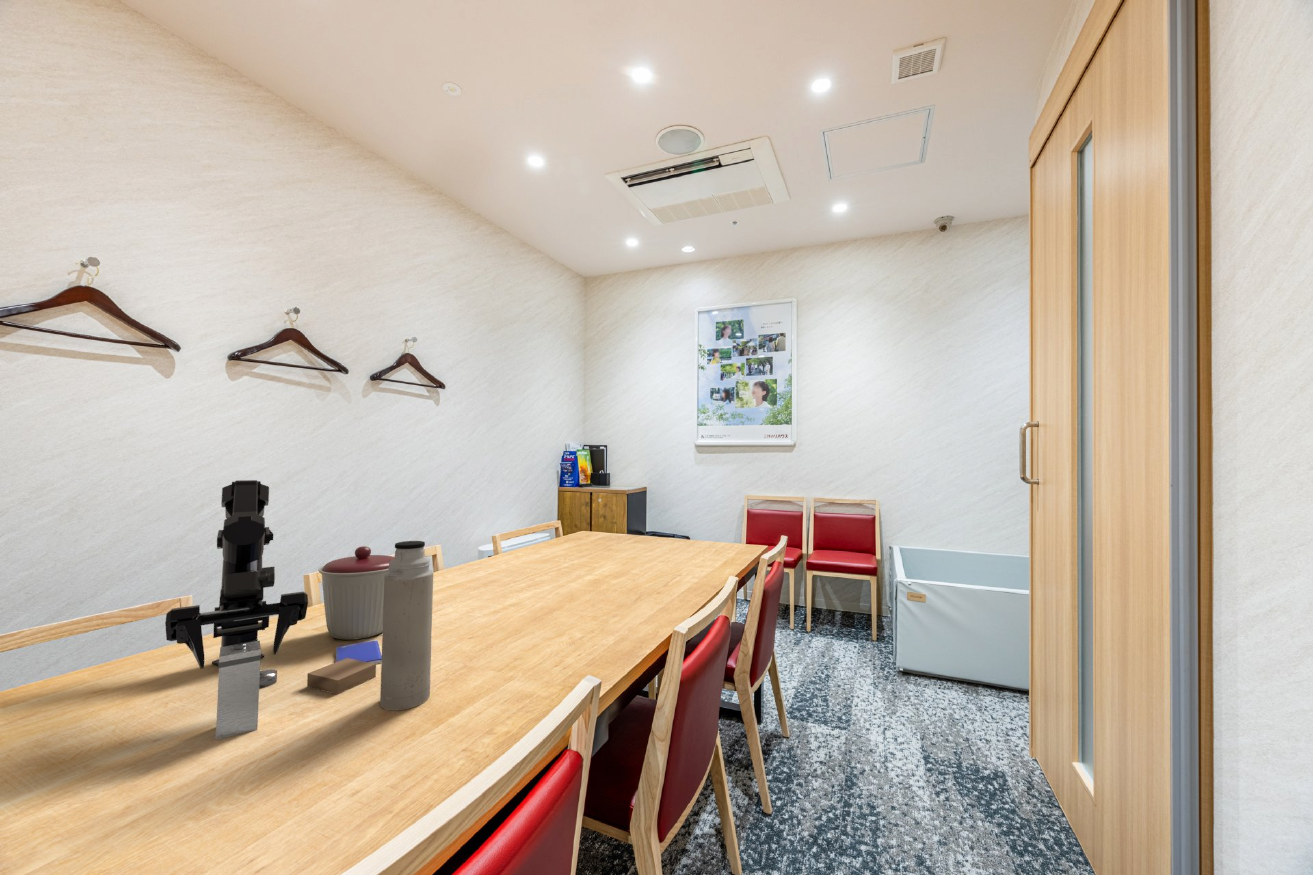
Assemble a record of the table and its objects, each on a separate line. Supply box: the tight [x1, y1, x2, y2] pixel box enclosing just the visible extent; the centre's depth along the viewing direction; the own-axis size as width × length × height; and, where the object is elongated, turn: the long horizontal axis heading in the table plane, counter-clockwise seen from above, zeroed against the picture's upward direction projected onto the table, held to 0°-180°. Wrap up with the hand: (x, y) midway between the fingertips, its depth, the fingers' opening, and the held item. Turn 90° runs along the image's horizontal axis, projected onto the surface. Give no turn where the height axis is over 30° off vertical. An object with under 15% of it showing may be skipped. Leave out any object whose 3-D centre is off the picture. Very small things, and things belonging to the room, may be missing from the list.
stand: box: [306, 658, 377, 695], centre depth 97 cm, size 8×8×2 cm
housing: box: [215, 639, 262, 741], centre depth 81 cm, size 5×5×13 cm
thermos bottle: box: [379, 540, 434, 711], centre depth 91 cm, size 8×8×28 cm
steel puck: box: [259, 669, 278, 689], centre depth 96 cm, size 4×4×2 cm
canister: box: [318, 545, 395, 641], centre depth 125 cm, size 18×18×21 cm
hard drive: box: [335, 640, 382, 665], centre depth 110 cm, size 2×8×12 cm
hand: (239, 660), depth 83 cm, fingers open, 9 cm apart
